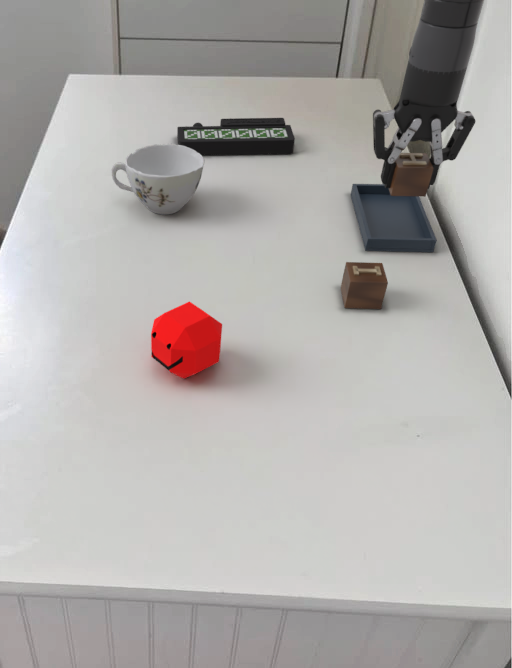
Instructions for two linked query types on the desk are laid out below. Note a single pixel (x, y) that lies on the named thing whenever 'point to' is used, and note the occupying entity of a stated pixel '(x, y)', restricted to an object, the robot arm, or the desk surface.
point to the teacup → (162, 176)
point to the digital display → (239, 137)
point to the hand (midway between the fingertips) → (406, 185)
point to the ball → (186, 340)
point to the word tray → (391, 220)
